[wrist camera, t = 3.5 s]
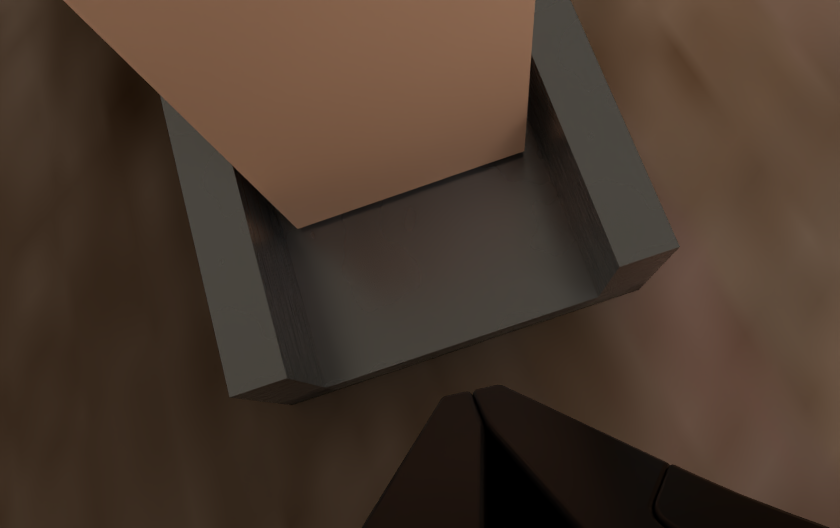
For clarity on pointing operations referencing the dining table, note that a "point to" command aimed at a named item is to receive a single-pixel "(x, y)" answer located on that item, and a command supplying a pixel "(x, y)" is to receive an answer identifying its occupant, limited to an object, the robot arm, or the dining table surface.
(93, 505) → the dining table surface
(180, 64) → the terracotta block
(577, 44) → the chute
